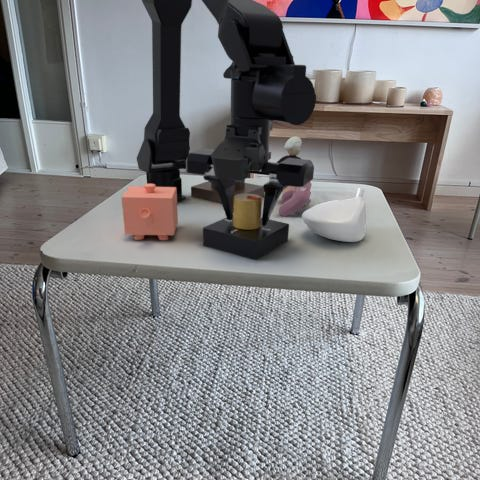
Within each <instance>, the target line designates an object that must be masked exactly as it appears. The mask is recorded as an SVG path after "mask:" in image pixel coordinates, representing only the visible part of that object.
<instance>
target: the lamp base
mask: <svg viewBox="0 0 480 480" xmlns="http://www.w3.org/2000/svg"><path fill="white" fill-rule="evenodd" d="M238 194H256V195H259V196H261V197H262V198H264V197H265V192H264V187H263V185H259V184H255V183H249V182H246V179H244V180H241V181H237V180H235V190H234V196H235V195H238ZM190 197H191V198H195V199H199V200H204V201H209V202H214V203H219V204H222V202H221V200H220V197H219V194H218V192H217V190H216V188H215V187H214V186H213V185H212V184H211V183H210V182H209V181H207V180H206V181H205V182H201V183H198V184H195V185H192V186H190Z"/></svg>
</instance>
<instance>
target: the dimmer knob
mask: <svg viewBox="0 0 480 480" xmlns="http://www.w3.org/2000/svg"><path fill="white" fill-rule="evenodd" d="M262 211H263V197H261V196H259V195H256V194H238V195H235V196H234V203H233V226H234V227H236V228H238V229H244V230H252V229H257V228H259V227H260V226H261V218H262Z"/></svg>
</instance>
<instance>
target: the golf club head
mask: <svg viewBox="0 0 480 480" xmlns="http://www.w3.org/2000/svg"><path fill="white" fill-rule="evenodd" d="M364 194H365V189H364V187H357V188H356V193H355V196H354V197H352V198H348V199H332V200H328V201H324V202H320V203H317V204H315V205H312V206H311V207H310V208H308V209H306V210H305V211H303V212H302V214H301V218H302V220H303V222H304V224H305V225H306V226H307V228H308V229H309V230H311V232H313V233H314V234H316V235H318V236H321V237H322V238H325V239H329V240H333V241H340V242H344V243H346V242H347V243H355V242H360V241H362V240H363V239H364V238H365V236H366V233H367V207H366V202H365V200H364V198H363V196H364Z"/></svg>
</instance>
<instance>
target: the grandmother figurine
mask: <svg viewBox="0 0 480 480" xmlns="http://www.w3.org/2000/svg"><path fill="white" fill-rule="evenodd" d="M302 142H303V141H302V139H301V137H299V136H296V135H295V136H292V137H289V139H287V140H286V142H285V144H284V146H283V148H284V149H285V150H286V151H287V154H288V155H284V156H282V157H281V158H280V159H278V160H277V161H276V162H275V163H280V162H282V161H284V160H286V159H287V158H296V159H302V158H301V157H300V156H299V154H300V152H301V147H302V145H303V144H302ZM290 190H293V191H295V187H294V186H288V187H287V188H285V189H284V190H283V191H282V193H281V196H282V195H283V194H284V193H285V192H287V191H290ZM294 195H295V192H294V193H293V195H292V197H293V196H294ZM280 203H282V204H283V203H285V202H282V201H281V200H280Z"/></svg>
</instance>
